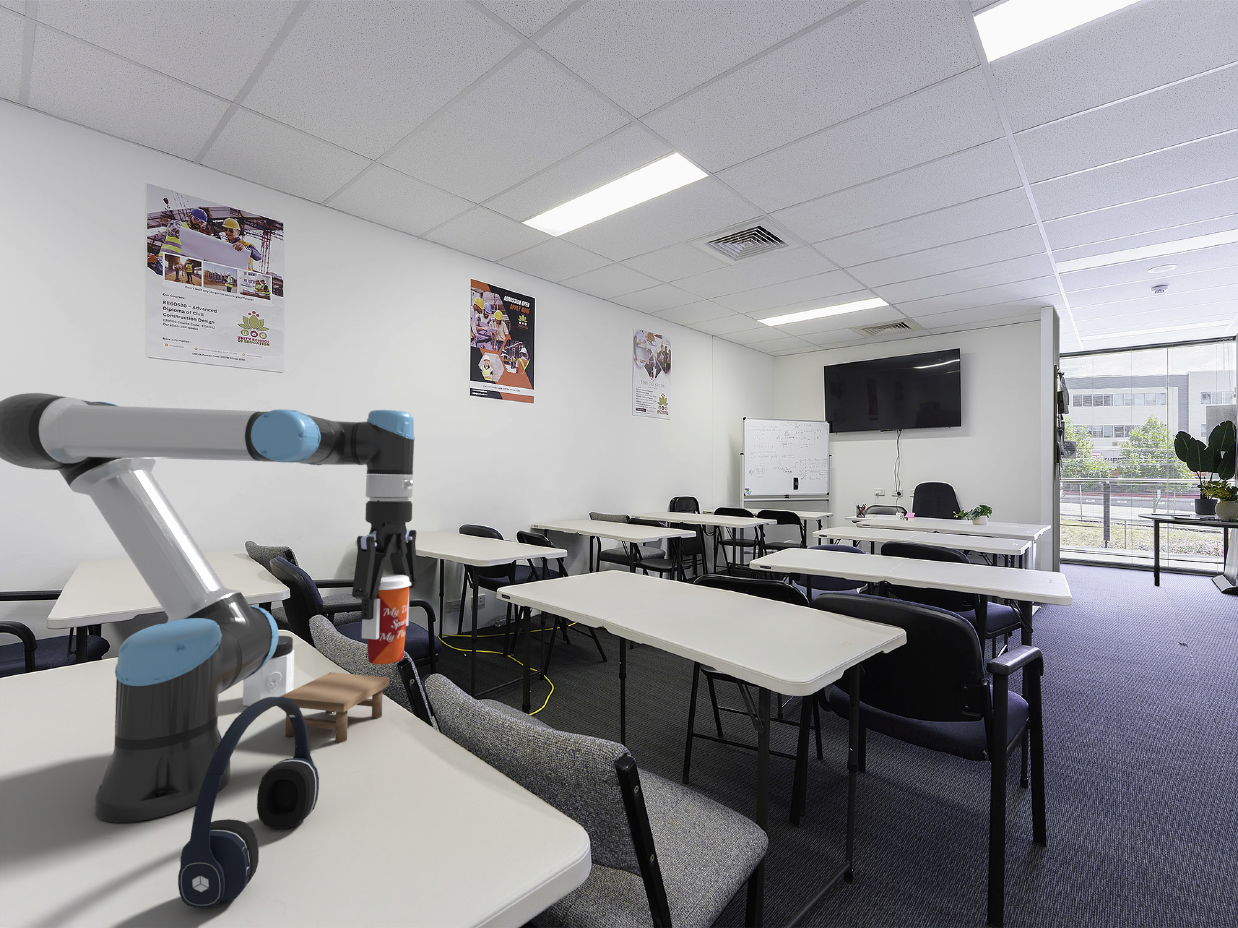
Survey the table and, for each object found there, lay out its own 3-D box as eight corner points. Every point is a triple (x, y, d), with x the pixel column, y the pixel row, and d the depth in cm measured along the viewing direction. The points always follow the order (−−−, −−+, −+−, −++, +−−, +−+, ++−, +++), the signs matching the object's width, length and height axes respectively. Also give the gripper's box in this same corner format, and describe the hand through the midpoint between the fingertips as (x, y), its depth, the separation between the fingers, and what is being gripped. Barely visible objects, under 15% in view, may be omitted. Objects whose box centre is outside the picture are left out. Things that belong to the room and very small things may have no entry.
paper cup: (392, 668, 92) (394, 582, 93) (351, 664, 94) (353, 580, 94) (418, 653, 100) (420, 574, 100) (380, 650, 101) (382, 572, 102)
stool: (342, 744, 96) (343, 703, 96) (277, 737, 98) (278, 696, 98) (388, 713, 108) (389, 677, 109) (329, 707, 111) (330, 672, 111)
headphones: (231, 922, 57) (236, 741, 58) (161, 924, 57) (167, 742, 58) (326, 808, 77) (329, 674, 78) (275, 809, 77) (279, 674, 78)
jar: (247, 711, 109) (248, 649, 109) (238, 699, 115) (240, 640, 115) (298, 699, 115) (300, 640, 115) (288, 688, 121) (289, 632, 121)
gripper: (370, 502, 87) (366, 650, 86) (439, 498, 107) (437, 618, 106) (328, 501, 88) (324, 646, 88) (404, 497, 109) (401, 616, 108)
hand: (386, 631), depth 97 cm, fingers closed on paper cup, 8 cm apart
